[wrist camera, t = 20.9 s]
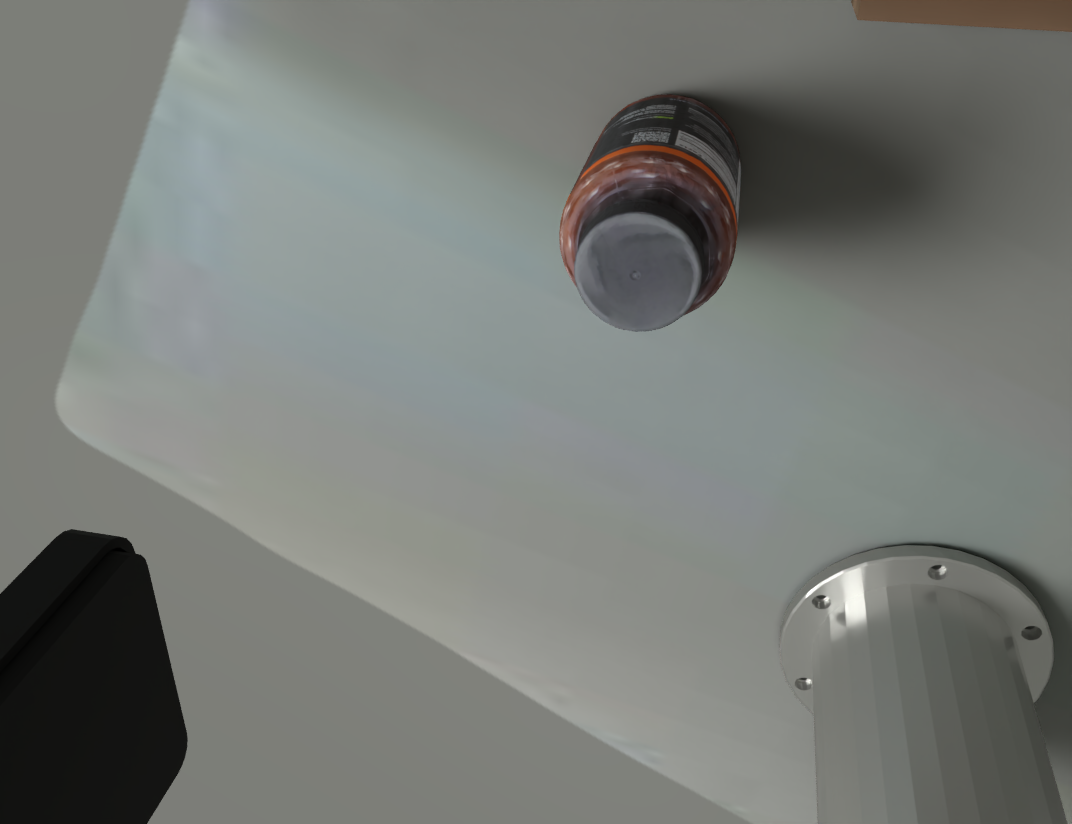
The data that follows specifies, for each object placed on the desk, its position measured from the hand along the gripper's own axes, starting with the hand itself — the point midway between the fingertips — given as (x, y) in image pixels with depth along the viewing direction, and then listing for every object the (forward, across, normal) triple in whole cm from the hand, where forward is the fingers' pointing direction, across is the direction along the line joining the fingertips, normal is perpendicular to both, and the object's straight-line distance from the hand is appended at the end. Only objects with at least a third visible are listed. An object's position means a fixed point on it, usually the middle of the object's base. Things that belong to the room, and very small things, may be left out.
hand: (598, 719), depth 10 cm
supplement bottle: (+34, +2, +5) cm, 34 cm away
